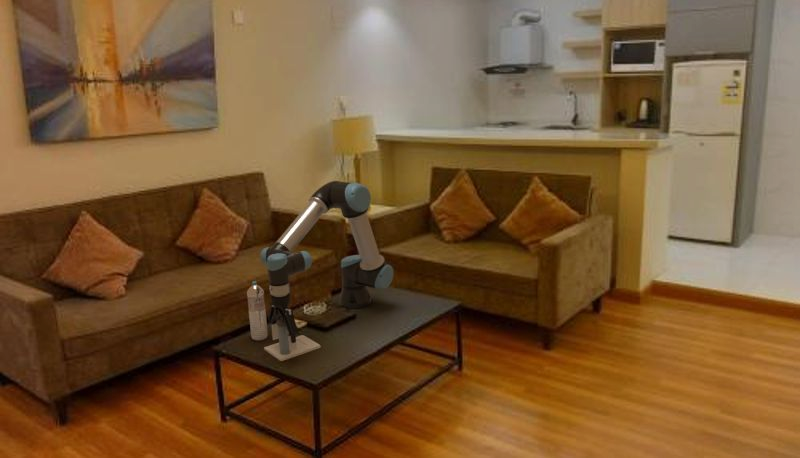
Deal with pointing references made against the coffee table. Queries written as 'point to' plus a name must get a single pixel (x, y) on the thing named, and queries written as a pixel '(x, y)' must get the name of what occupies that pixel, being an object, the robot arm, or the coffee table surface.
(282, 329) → the cylinder
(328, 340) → the coffee table surface
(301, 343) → the notepad
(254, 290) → the water bottle
